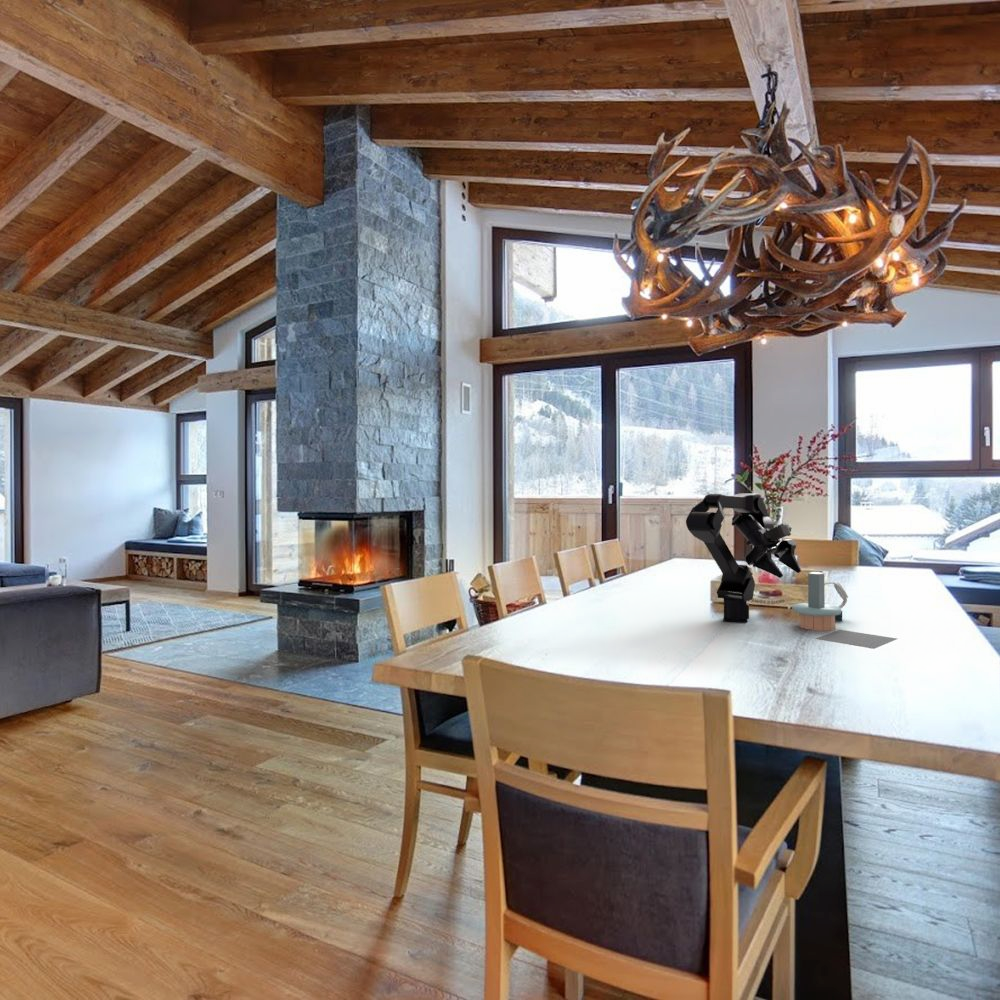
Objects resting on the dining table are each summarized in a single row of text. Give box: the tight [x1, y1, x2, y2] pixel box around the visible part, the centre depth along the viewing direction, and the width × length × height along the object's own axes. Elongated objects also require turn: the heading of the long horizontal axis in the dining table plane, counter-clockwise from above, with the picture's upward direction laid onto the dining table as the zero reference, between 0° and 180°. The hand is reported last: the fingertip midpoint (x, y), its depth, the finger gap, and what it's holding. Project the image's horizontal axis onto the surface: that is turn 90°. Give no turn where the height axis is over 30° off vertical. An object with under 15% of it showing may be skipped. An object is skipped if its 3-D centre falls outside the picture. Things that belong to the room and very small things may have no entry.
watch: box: [824, 580, 849, 622], centre depth 193 cm, size 6×8×11 cm
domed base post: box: [791, 571, 842, 616], centre depth 183 cm, size 12×12×10 cm
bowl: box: [798, 613, 836, 632], centre depth 183 cm, size 9×9×4 cm
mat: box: [814, 629, 898, 650], centre depth 169 cm, size 14×14×1 cm
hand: (790, 574), depth 190 cm, fingers open, 9 cm apart
